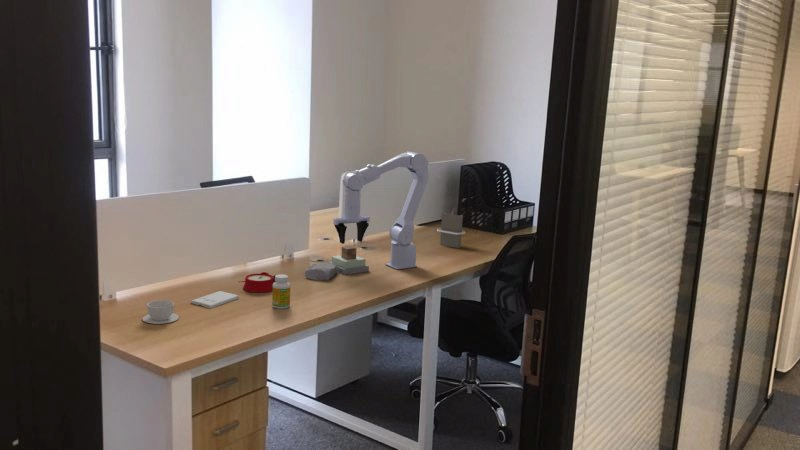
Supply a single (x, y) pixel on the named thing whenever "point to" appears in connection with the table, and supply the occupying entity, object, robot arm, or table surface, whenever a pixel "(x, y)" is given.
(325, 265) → the stone block
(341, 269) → the grey base slab
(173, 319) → the teacup
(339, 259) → the green top slab
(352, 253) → the walnut cube
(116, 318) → the table surface
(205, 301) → the external hard drive
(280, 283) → the supplement bottle
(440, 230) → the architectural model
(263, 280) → the alarm clock
